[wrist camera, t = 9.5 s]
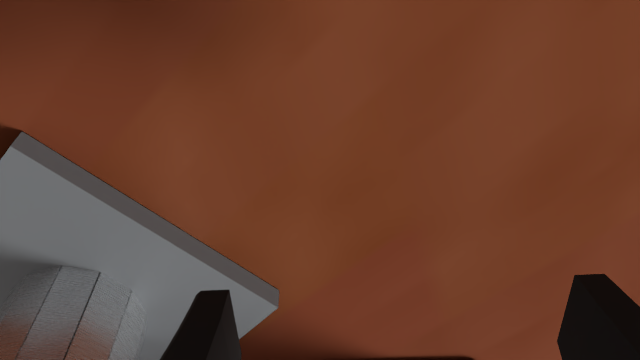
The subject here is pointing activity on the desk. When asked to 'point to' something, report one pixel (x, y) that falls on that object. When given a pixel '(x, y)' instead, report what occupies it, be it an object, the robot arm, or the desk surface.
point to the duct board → (112, 244)
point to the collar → (71, 317)
